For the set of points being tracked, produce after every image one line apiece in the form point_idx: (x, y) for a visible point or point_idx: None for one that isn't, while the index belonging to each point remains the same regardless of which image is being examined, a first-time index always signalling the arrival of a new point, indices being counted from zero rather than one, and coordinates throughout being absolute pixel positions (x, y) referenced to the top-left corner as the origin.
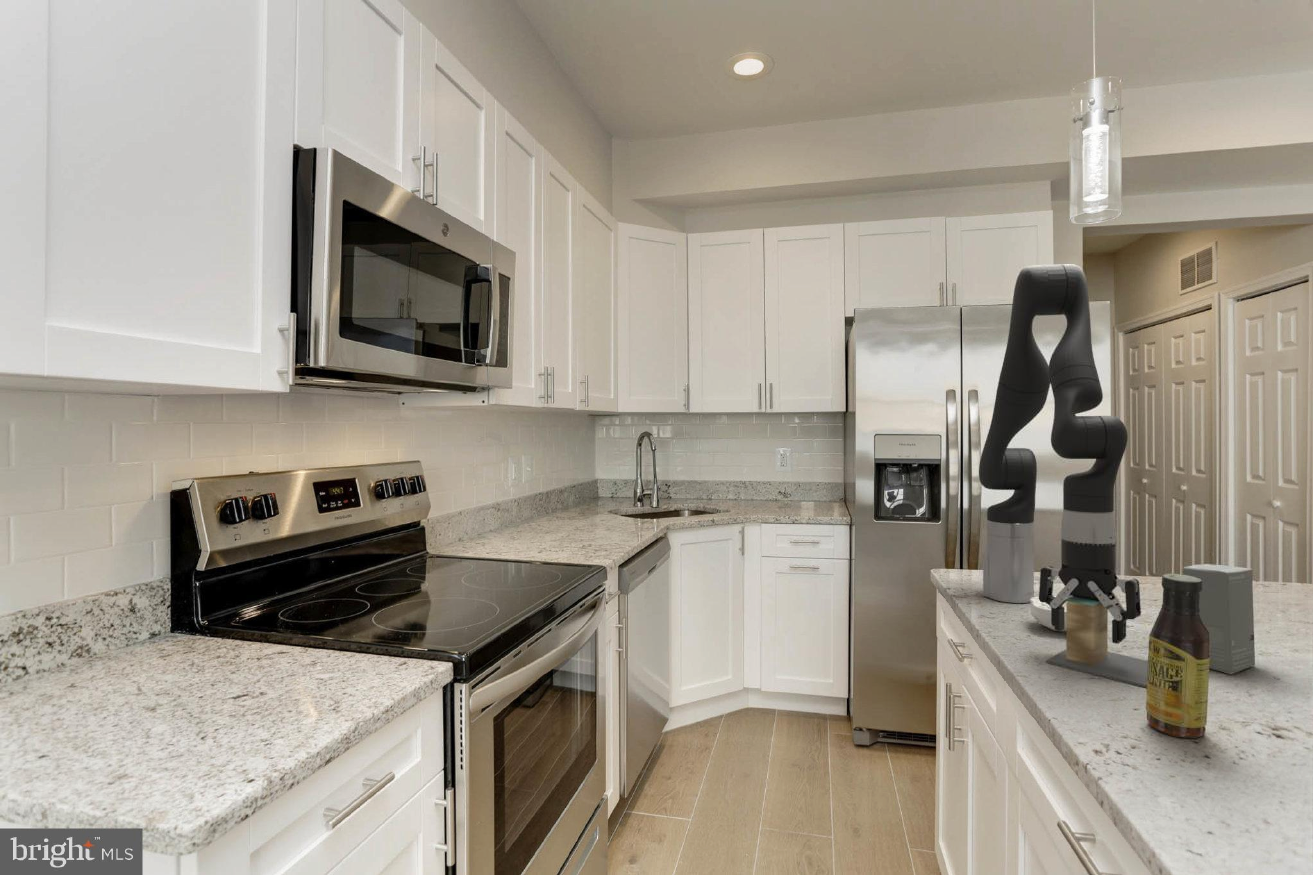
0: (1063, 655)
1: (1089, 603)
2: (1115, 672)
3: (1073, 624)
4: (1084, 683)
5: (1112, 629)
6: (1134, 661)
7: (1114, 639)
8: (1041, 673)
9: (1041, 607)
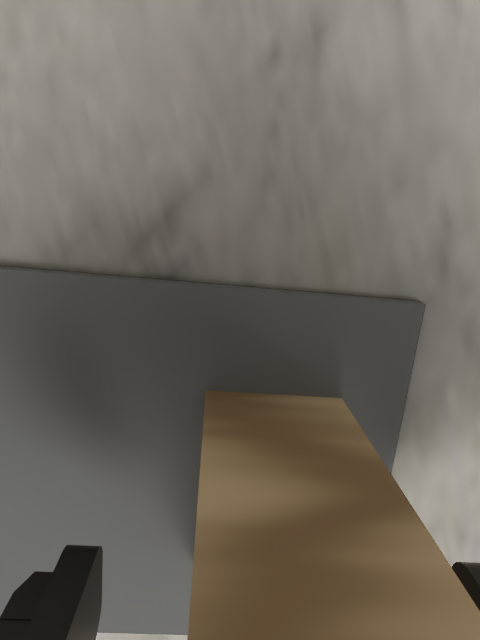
0: None
1: None
2: (90, 358)
3: (380, 551)
4: (169, 86)
5: (63, 633)
6: None
7: (77, 561)
8: (401, 87)
9: None
